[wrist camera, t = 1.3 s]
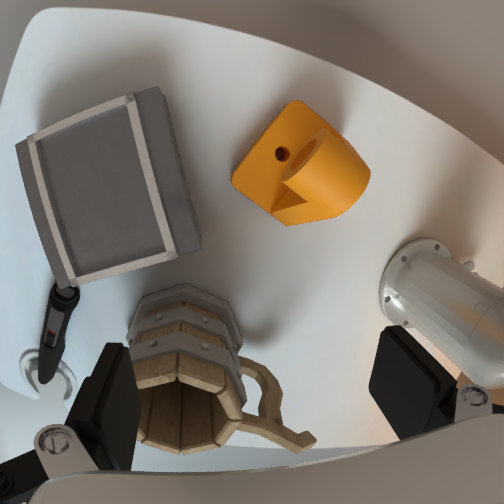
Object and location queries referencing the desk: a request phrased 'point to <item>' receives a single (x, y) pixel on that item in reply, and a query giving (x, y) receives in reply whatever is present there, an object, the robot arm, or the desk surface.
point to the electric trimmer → (55, 330)
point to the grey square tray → (109, 190)
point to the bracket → (301, 169)
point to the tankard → (199, 376)
